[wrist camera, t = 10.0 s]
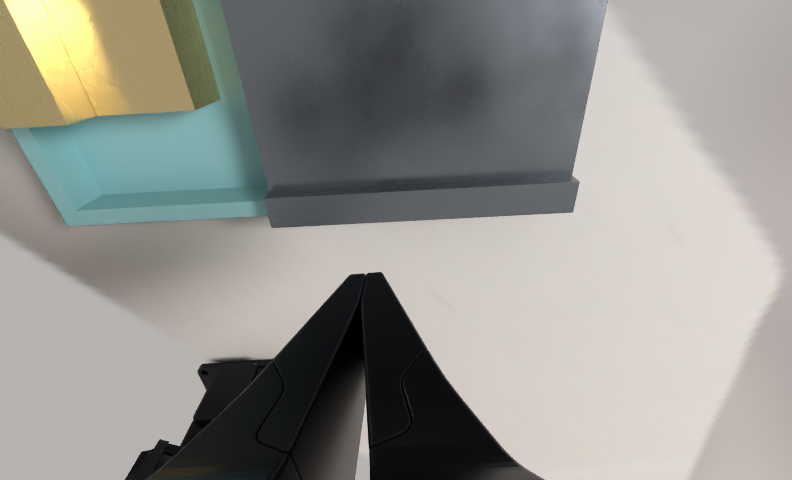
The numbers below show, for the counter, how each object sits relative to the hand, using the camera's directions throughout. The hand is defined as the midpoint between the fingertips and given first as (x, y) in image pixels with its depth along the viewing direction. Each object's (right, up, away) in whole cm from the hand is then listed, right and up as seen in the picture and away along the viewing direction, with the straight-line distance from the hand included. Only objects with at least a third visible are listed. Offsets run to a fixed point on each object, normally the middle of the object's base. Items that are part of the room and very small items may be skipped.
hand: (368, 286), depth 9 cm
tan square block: (-9, +9, +6) cm, 15 cm away
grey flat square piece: (+1, +10, +6) cm, 12 cm away
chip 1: (-11, +8, +4) cm, 15 cm away
